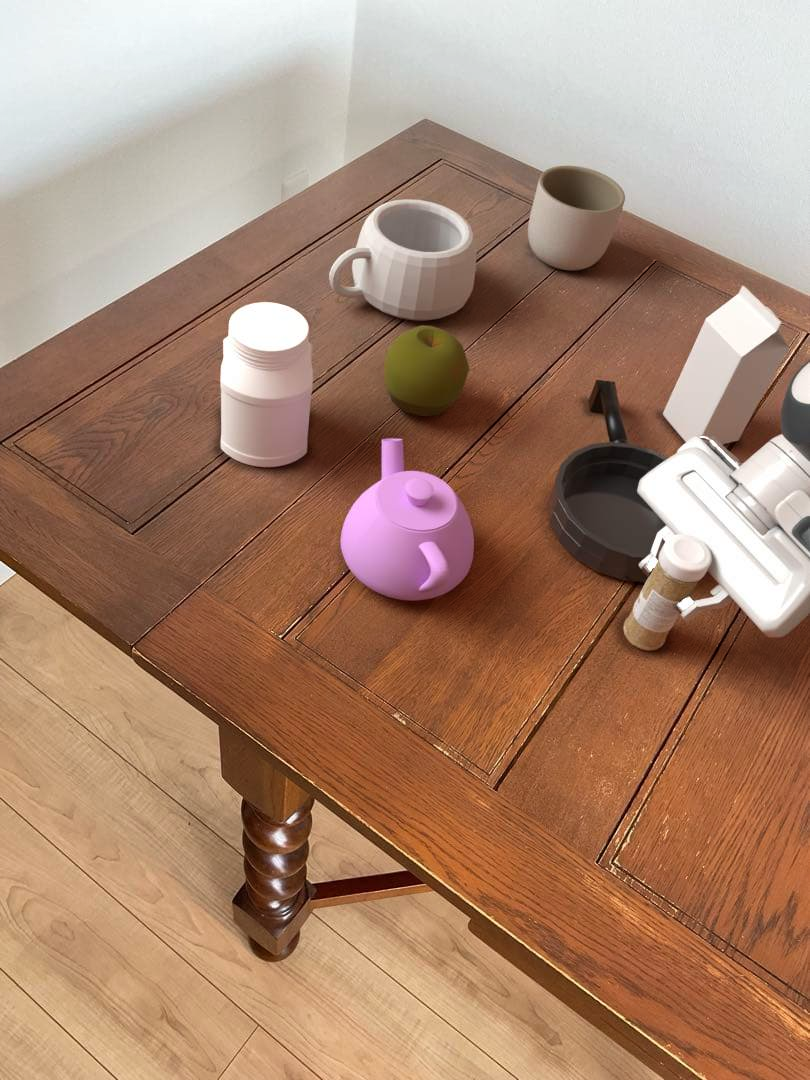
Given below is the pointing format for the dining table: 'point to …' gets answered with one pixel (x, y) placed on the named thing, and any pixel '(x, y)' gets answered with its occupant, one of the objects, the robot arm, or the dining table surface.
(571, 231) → the planter
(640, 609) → the spice bottle
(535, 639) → the dining table surface
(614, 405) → the pan handle
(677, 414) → the milk carton
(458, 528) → the teapot
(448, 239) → the mug
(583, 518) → the pan
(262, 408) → the jar
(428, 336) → the apple
